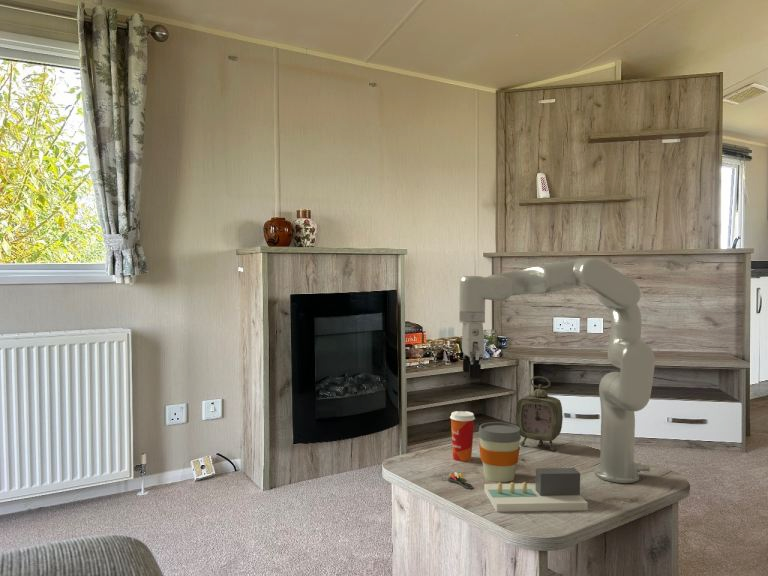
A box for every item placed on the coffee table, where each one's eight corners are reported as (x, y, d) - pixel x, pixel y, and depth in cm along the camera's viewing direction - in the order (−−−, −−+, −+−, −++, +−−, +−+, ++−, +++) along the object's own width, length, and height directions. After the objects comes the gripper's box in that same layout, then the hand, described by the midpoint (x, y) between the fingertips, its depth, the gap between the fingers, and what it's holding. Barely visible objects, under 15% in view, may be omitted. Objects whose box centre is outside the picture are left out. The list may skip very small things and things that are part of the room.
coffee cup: (448, 454, 197) (449, 410, 196) (473, 454, 197) (473, 410, 196) (450, 462, 189) (451, 416, 188) (476, 463, 188) (476, 417, 188)
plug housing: (573, 489, 161) (574, 467, 161) (579, 495, 157) (580, 473, 157) (535, 489, 160) (535, 468, 160) (540, 495, 156) (540, 473, 156)
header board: (567, 489, 166) (567, 472, 166) (587, 510, 152) (587, 491, 152) (484, 490, 165) (484, 473, 165) (496, 511, 151) (496, 492, 151)
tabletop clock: (515, 446, 206) (516, 376, 205) (523, 440, 214) (524, 372, 213) (556, 453, 199) (558, 380, 198) (563, 446, 206) (564, 376, 206)
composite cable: (474, 489, 166) (474, 481, 166) (459, 491, 165) (459, 483, 165) (459, 478, 176) (459, 470, 176) (444, 479, 174) (444, 471, 174)
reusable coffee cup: (506, 467, 184) (507, 420, 183) (528, 481, 172) (529, 431, 172) (470, 471, 180) (471, 423, 179) (490, 486, 168) (491, 435, 168)
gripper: (491, 320, 164) (490, 380, 165) (478, 315, 182) (477, 369, 182) (465, 320, 164) (464, 380, 165) (454, 315, 181) (453, 369, 182)
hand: (471, 374), depth 173 cm, fingers open, 9 cm apart
